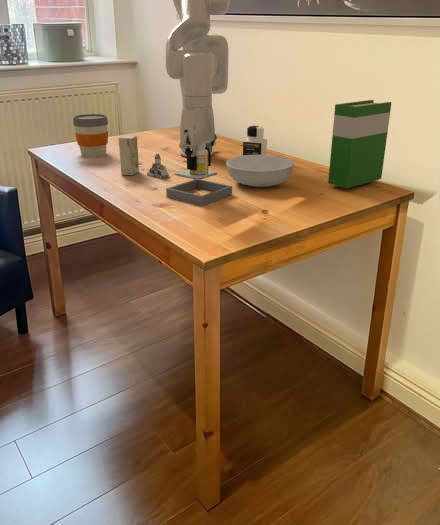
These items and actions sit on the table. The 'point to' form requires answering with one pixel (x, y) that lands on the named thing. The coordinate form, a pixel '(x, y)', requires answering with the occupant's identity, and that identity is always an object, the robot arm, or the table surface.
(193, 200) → the grey square frame
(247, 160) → the serving bowl
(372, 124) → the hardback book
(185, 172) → the place mat
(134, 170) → the skincare box
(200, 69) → the robot arm
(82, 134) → the reusable coffee cup
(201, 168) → the supplement bottle
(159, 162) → the grey building model
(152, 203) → the table surface
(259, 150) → the medicine bottle
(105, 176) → the table surface
